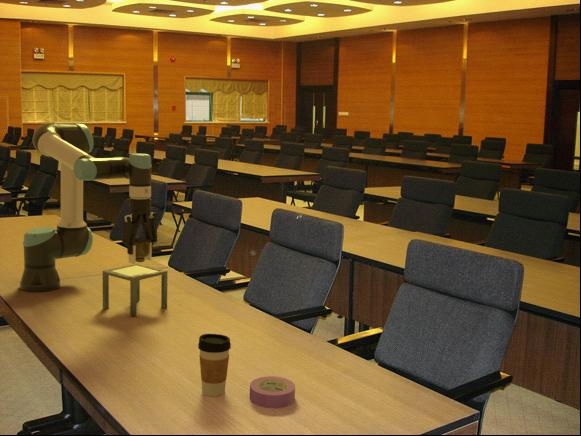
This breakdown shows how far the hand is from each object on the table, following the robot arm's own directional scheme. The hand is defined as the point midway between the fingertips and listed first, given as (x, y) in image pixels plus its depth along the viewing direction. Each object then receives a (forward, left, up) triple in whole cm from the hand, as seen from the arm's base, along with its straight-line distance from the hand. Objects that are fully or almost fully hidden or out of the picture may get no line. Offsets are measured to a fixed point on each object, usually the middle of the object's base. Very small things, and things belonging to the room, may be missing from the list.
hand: (140, 261), depth 243 cm
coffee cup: (+68, -36, -18) cm, 79 cm away
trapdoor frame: (-3, 0, -18) cm, 18 cm away
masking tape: (+82, -29, -18) cm, 89 cm away
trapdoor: (-3, 0, -5) cm, 6 cm away
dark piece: (0, 0, 0) cm, 0 cm away
